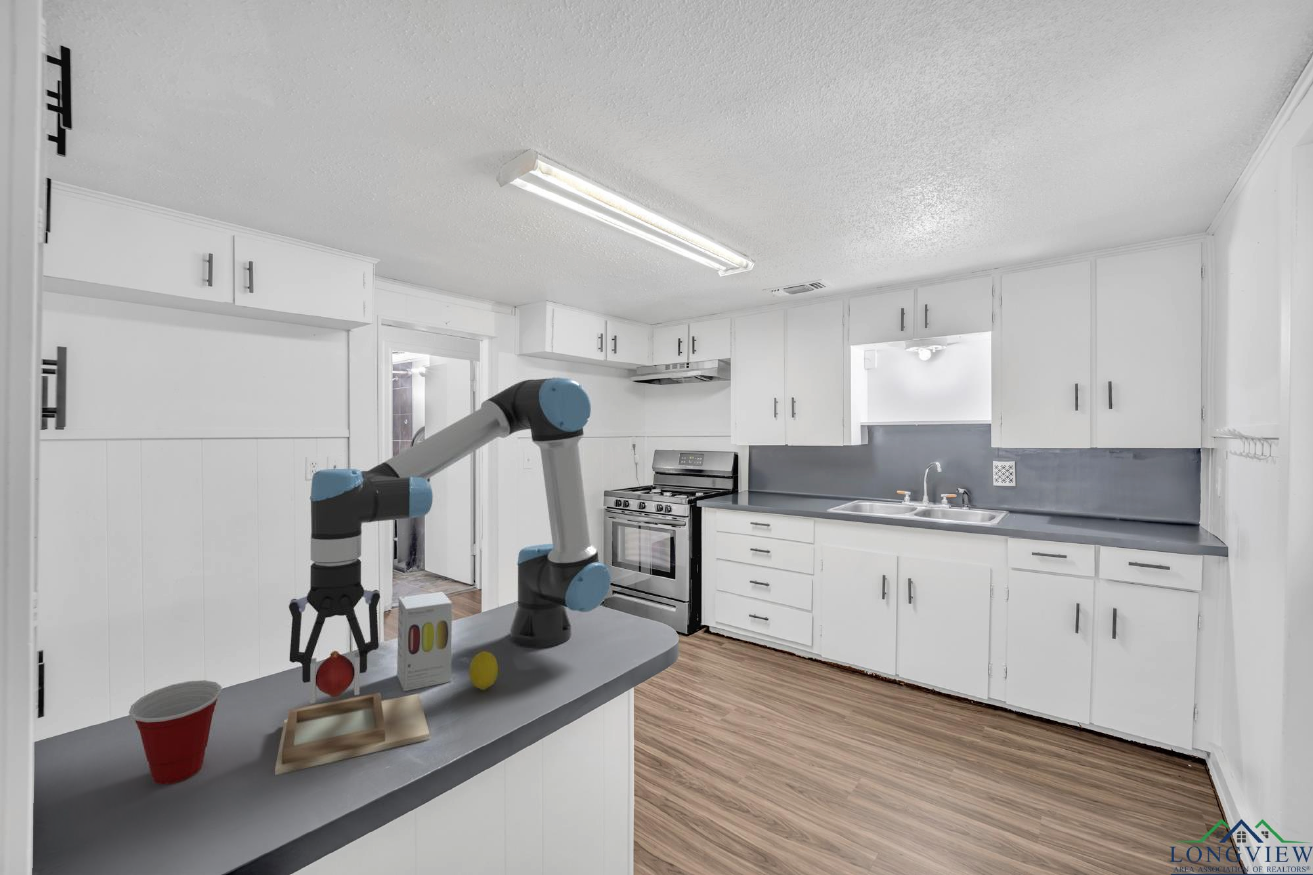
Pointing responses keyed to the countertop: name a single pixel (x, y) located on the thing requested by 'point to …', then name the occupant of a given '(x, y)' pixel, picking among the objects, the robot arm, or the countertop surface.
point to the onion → (335, 674)
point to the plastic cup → (176, 728)
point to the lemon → (483, 670)
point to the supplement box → (424, 640)
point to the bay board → (349, 730)
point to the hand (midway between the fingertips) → (335, 695)
